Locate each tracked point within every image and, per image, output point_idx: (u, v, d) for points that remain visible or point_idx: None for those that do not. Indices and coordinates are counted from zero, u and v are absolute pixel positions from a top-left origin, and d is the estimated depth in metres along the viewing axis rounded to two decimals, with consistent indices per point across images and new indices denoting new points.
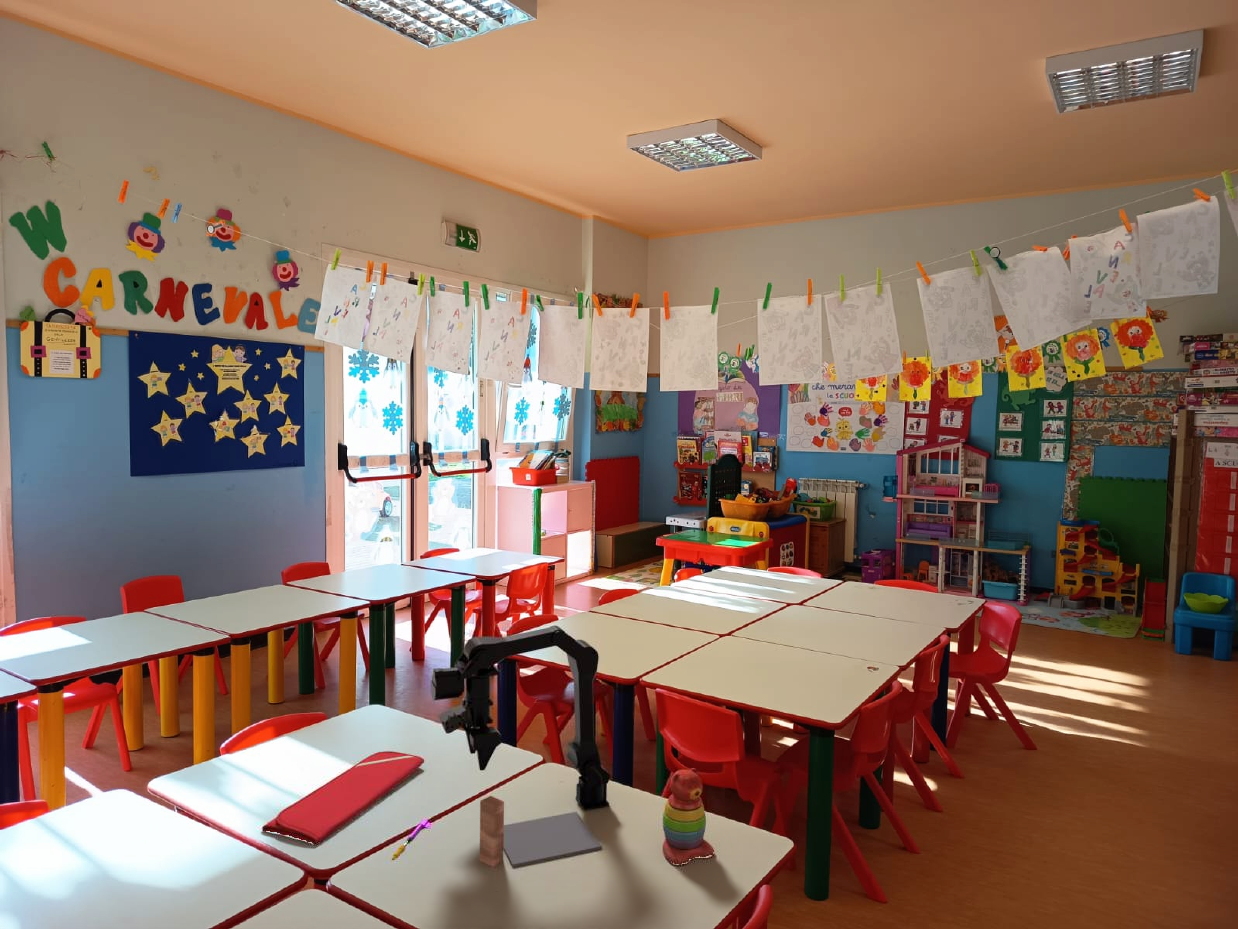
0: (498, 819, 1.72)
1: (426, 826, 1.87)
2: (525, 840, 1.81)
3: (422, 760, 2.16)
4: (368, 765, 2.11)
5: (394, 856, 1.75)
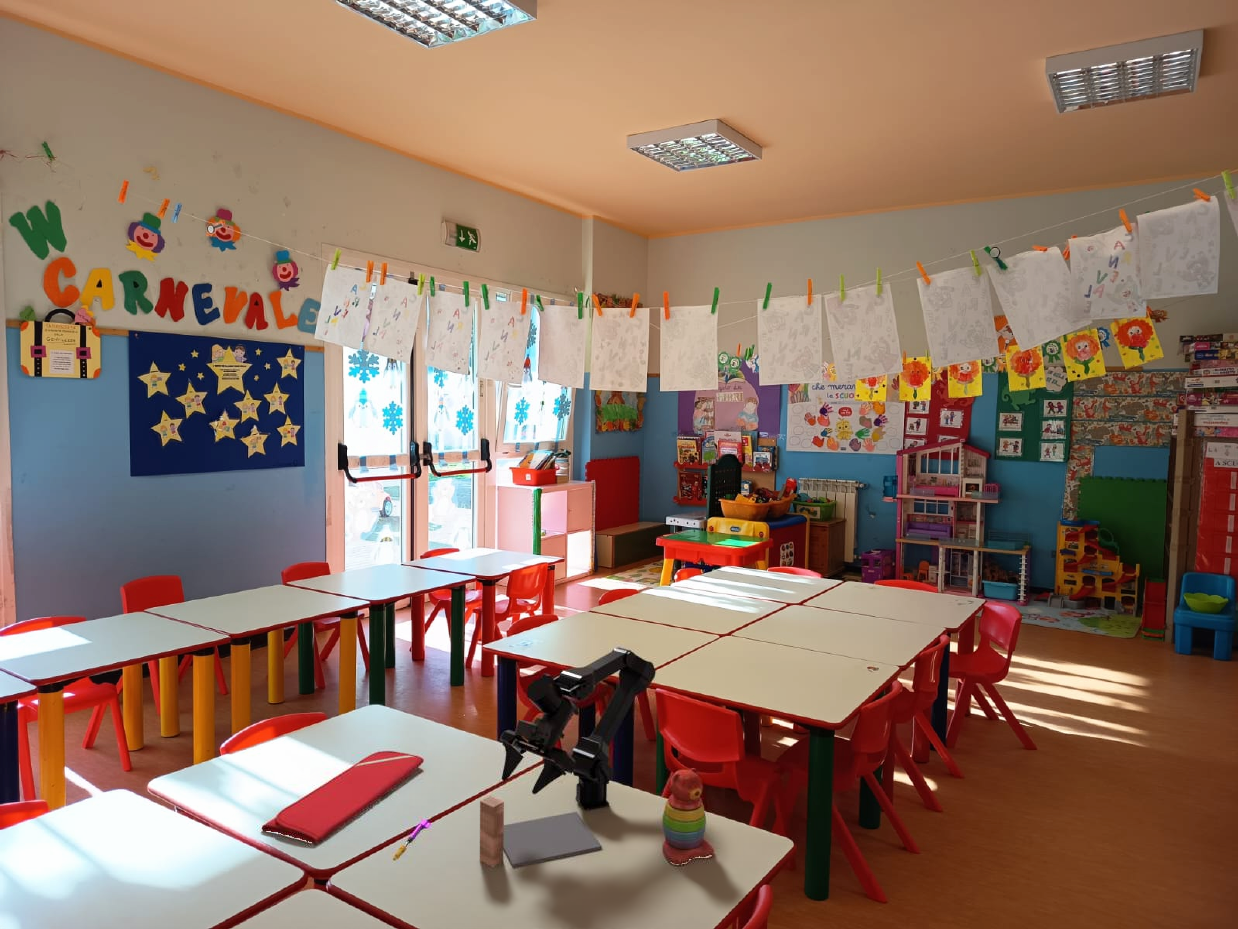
0: (498, 819, 1.72)
1: (426, 826, 1.87)
2: (525, 840, 1.81)
3: (422, 760, 2.16)
4: (368, 765, 2.11)
5: (395, 856, 1.74)
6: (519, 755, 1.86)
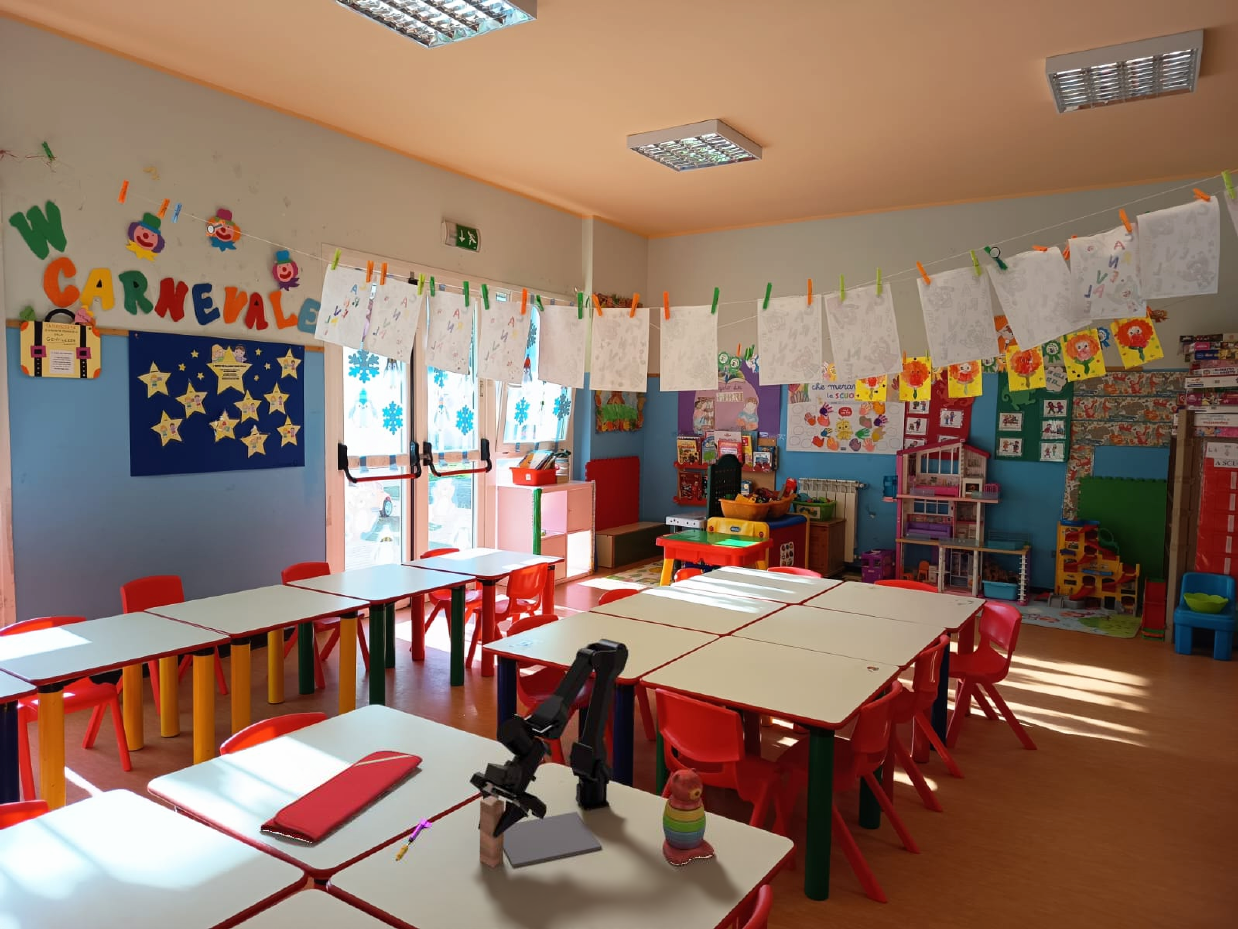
0: (498, 819, 1.72)
1: (426, 826, 1.87)
2: (525, 840, 1.81)
3: (420, 759, 2.16)
4: (366, 765, 2.11)
5: (398, 856, 1.74)
6: None
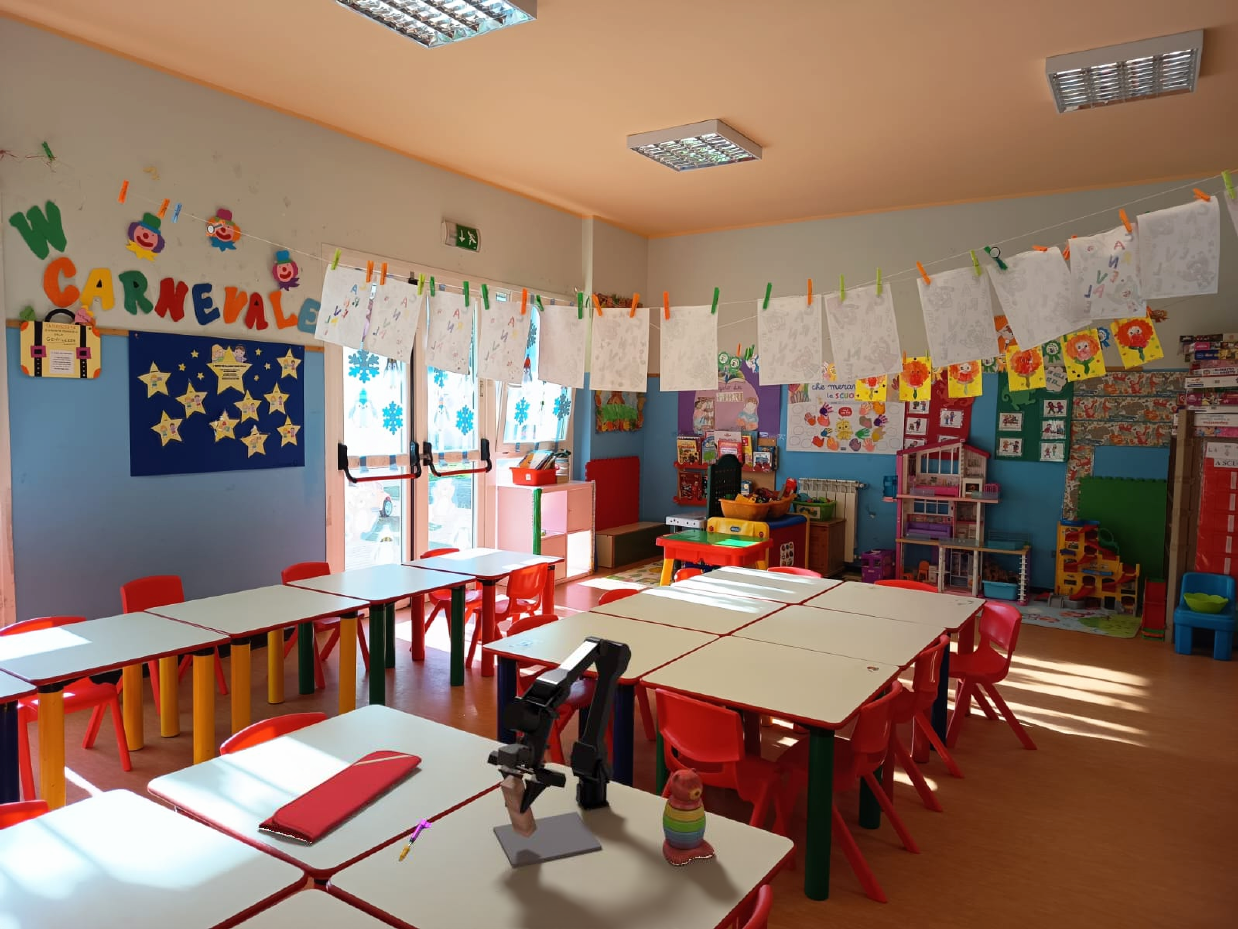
0: (521, 797, 1.75)
1: (426, 826, 1.87)
2: (525, 840, 1.81)
3: (419, 759, 2.16)
4: (366, 764, 2.11)
5: (401, 857, 1.74)
6: (518, 776, 1.80)
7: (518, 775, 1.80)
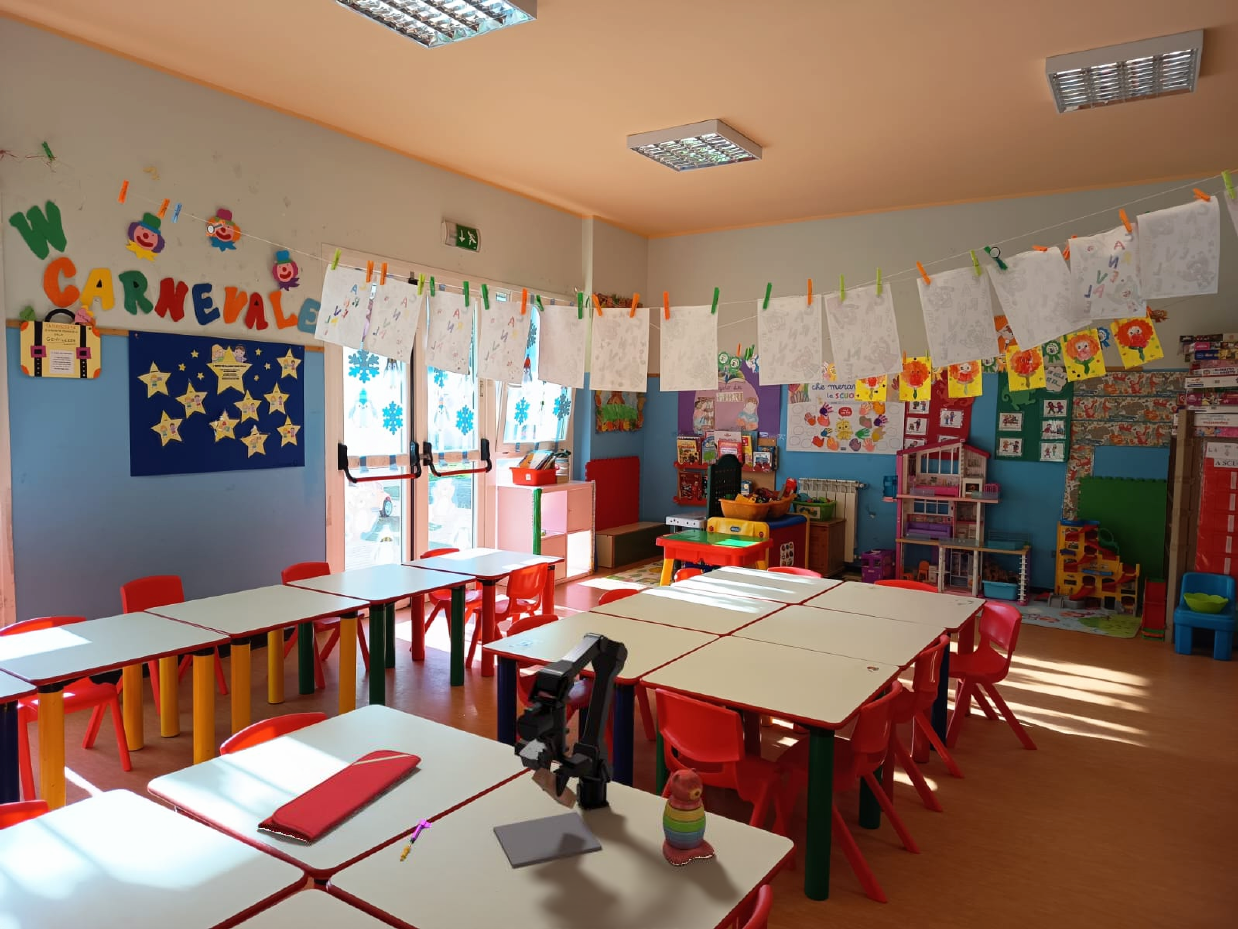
0: (554, 784, 1.81)
1: (426, 826, 1.87)
2: (525, 840, 1.81)
3: (419, 759, 2.16)
4: (365, 764, 2.11)
5: (402, 857, 1.74)
6: None
7: None
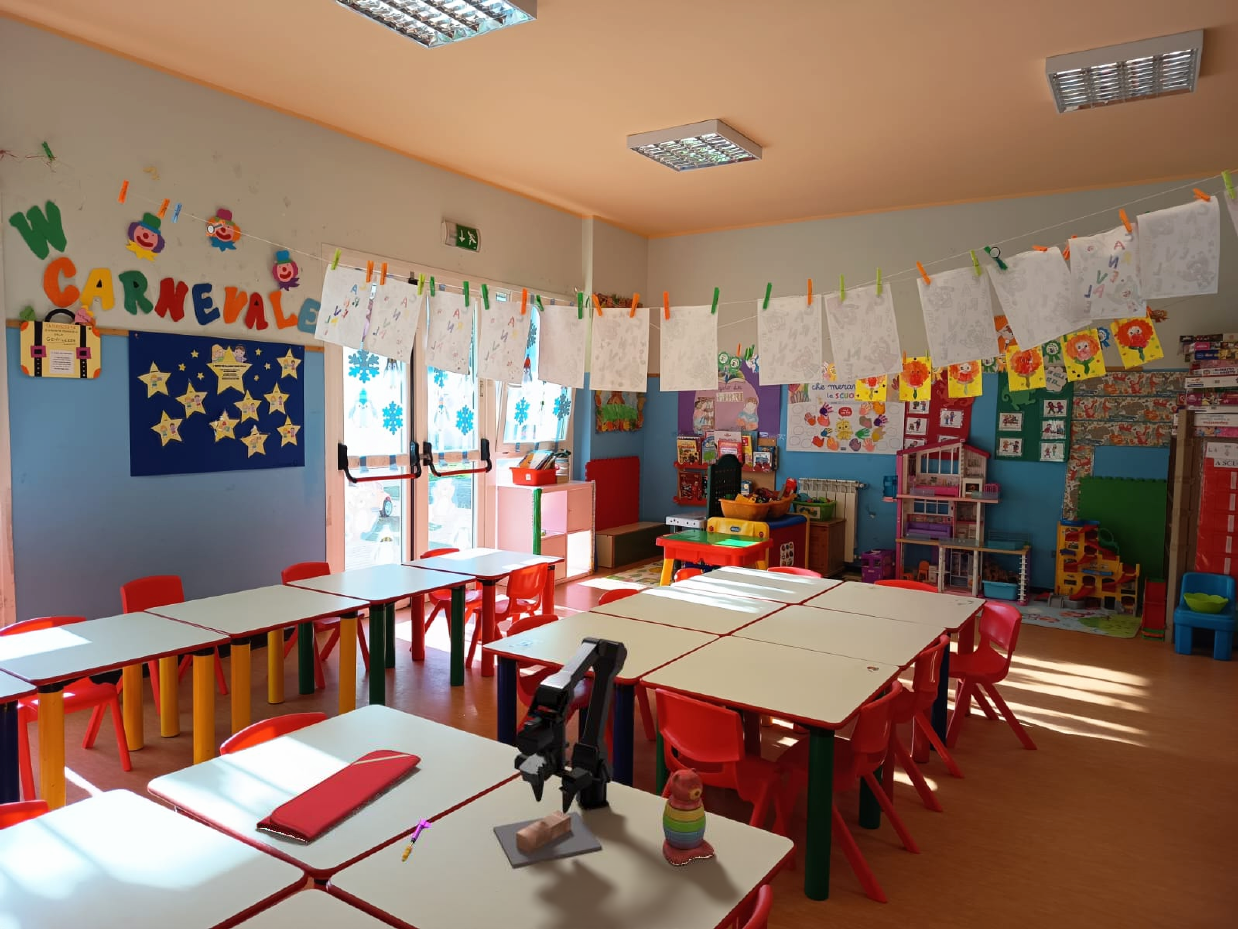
0: (539, 840, 1.79)
1: (426, 826, 1.87)
2: None
3: (419, 759, 2.16)
4: (365, 764, 2.12)
5: (404, 857, 1.74)
6: None
7: None
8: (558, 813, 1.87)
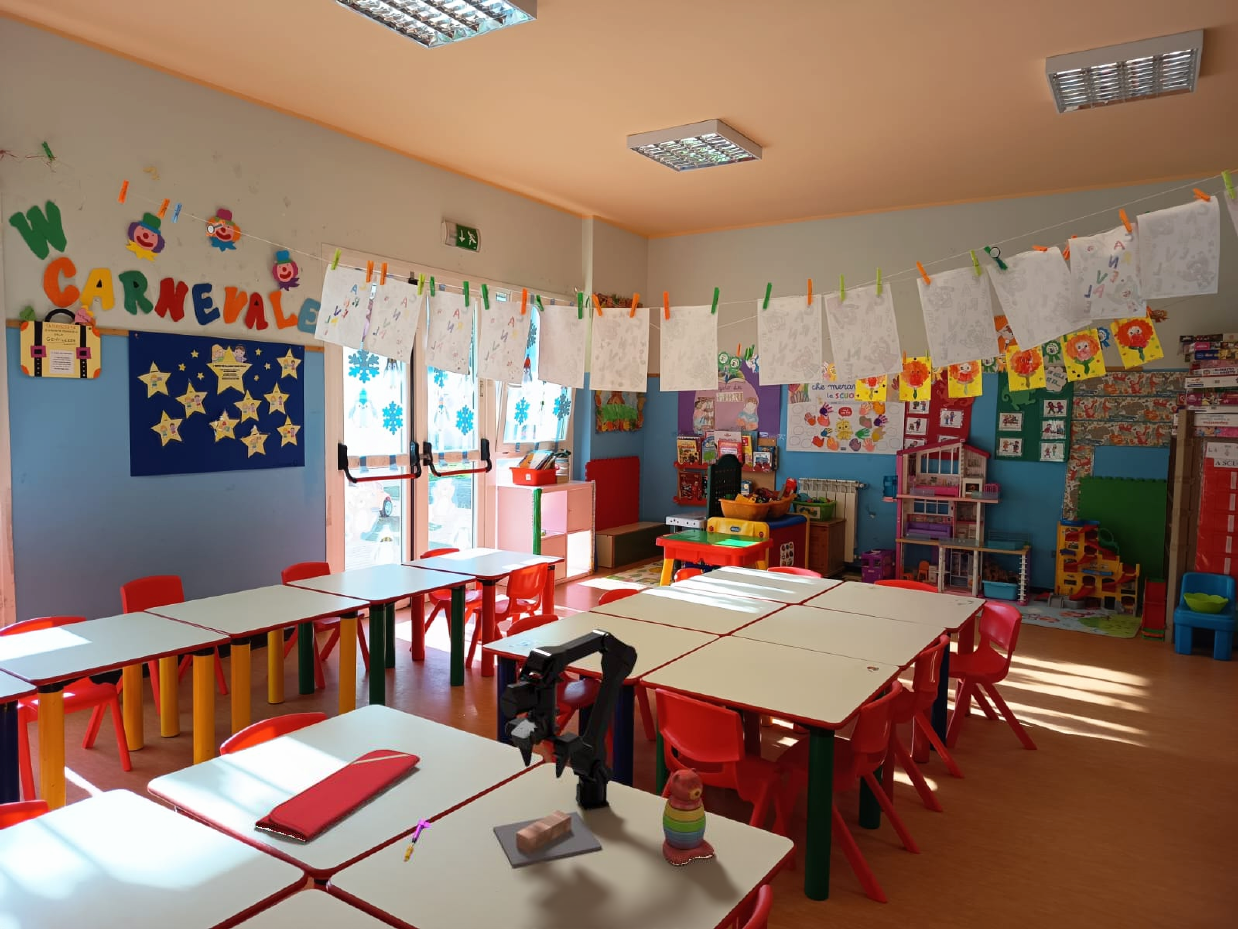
0: (539, 840, 1.79)
1: (425, 826, 1.87)
2: None
3: (418, 759, 2.17)
4: (364, 763, 2.12)
5: (406, 857, 1.74)
6: None
7: None
8: (558, 813, 1.87)
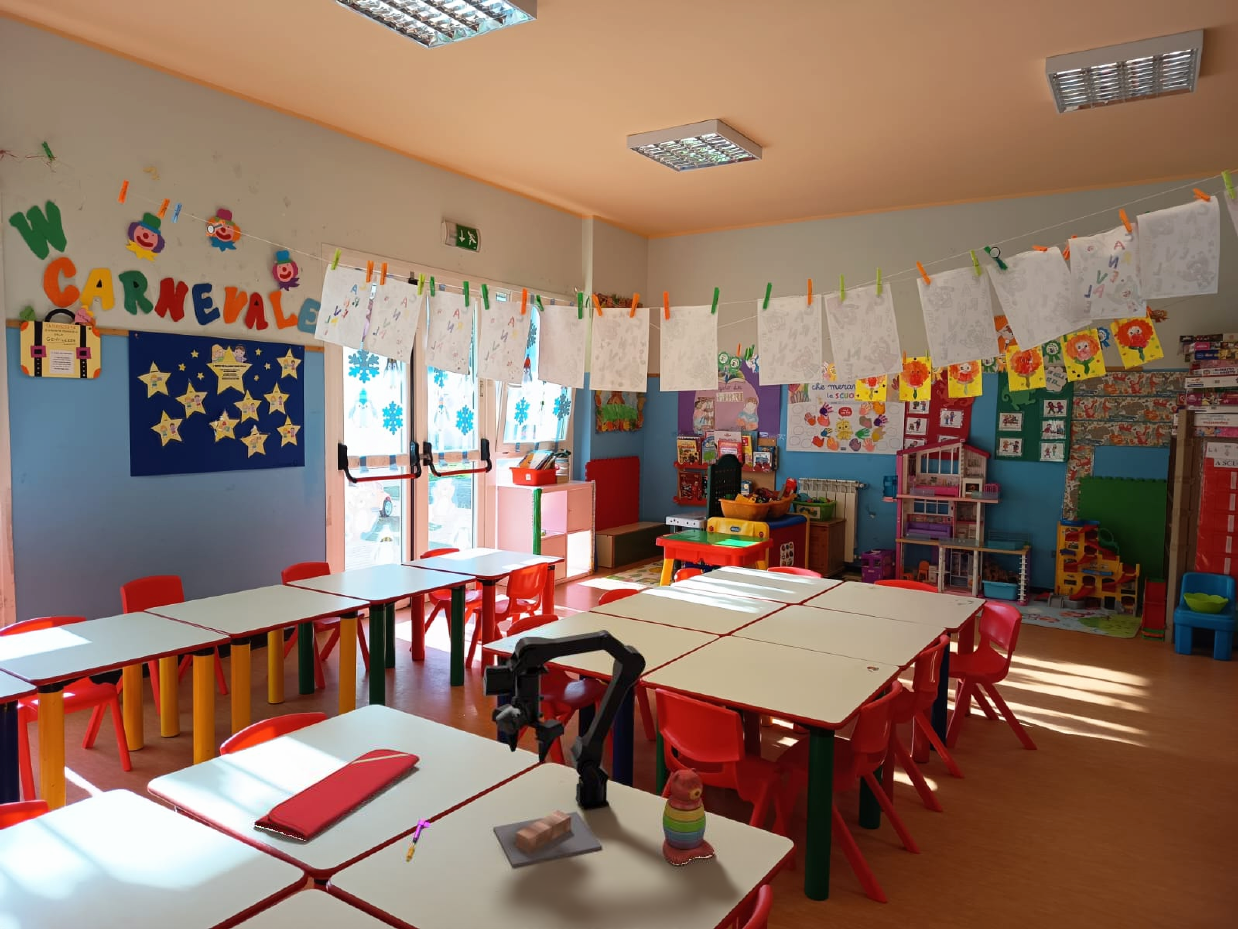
0: (539, 840, 1.79)
1: (425, 826, 1.87)
2: None
3: (417, 758, 2.17)
4: (363, 763, 2.12)
5: (408, 857, 1.74)
6: None
7: None
8: (558, 813, 1.87)
